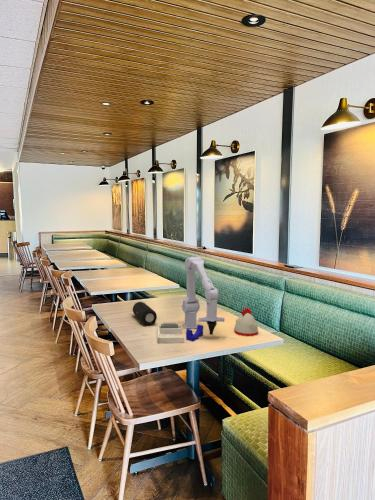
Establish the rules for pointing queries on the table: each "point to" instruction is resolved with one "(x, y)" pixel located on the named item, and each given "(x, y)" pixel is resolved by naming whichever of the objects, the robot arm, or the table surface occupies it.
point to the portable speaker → (144, 313)
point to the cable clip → (196, 335)
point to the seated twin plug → (169, 325)
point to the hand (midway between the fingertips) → (211, 334)
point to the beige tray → (170, 331)
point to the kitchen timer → (246, 324)
